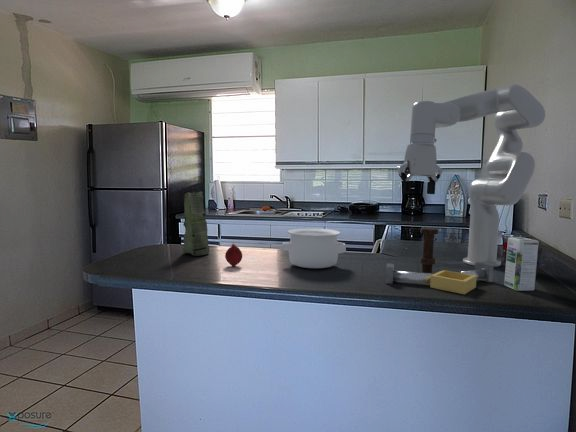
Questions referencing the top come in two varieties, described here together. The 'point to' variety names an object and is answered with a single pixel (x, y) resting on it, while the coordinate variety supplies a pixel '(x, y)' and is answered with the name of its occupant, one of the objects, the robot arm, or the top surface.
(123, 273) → the top surface
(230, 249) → the onion
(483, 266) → the shaft
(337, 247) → the pot
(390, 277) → the shaft
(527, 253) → the syrup box
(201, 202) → the pouch
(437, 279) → the yoke socket
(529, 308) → the top surface
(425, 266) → the bolt
